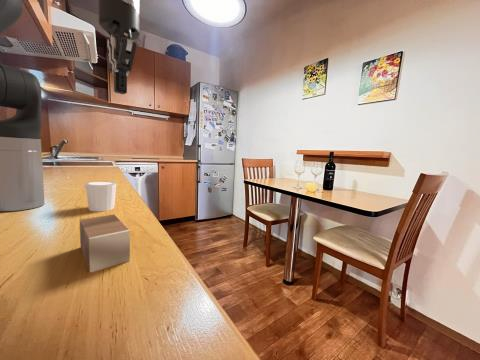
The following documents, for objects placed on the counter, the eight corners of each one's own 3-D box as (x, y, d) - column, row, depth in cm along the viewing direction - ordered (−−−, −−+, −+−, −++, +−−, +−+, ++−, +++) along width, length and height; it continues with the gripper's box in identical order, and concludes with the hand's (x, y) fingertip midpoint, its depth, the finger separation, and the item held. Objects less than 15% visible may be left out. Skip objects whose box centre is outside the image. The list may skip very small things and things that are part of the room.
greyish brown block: (79, 219, 33) (89, 238, 27) (114, 214, 37) (129, 230, 31) (80, 247, 34) (90, 272, 28) (114, 239, 38) (129, 260, 31)
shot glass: (101, 213, 50) (100, 186, 49) (78, 210, 52) (77, 183, 51) (122, 206, 57) (122, 182, 56) (102, 203, 58) (101, 180, 57)
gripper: (91, 10, 44) (93, 92, 46) (107, -22, 35) (109, 83, 37) (128, 27, 49) (128, 100, 52) (150, 3, 40) (149, 93, 43)
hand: (120, 93), depth 45 cm, fingers closed
